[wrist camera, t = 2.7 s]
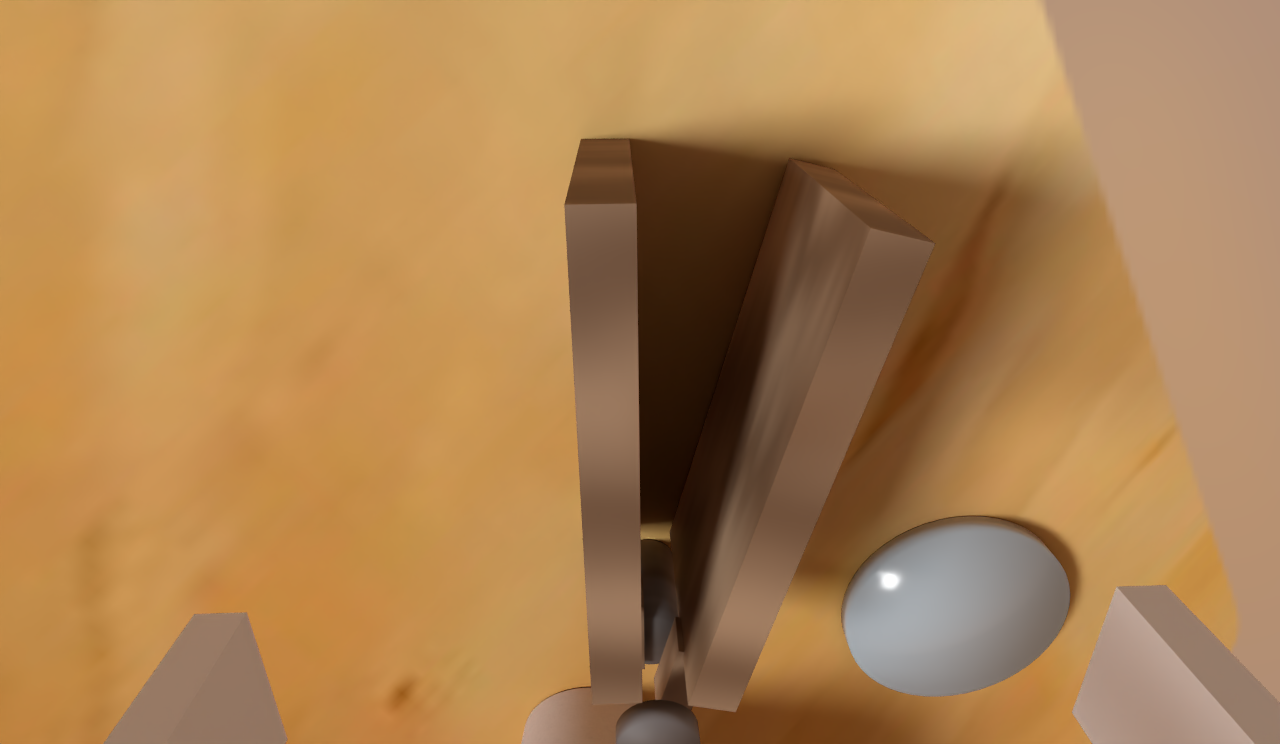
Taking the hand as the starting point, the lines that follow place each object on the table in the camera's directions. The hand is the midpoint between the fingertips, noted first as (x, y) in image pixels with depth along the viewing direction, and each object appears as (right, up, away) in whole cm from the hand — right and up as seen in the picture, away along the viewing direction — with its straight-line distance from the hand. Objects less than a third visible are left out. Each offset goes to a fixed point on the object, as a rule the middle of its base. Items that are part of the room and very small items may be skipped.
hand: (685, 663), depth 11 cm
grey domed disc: (+14, -6, +23) cm, 27 cm away
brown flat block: (-1, +4, +17) cm, 18 cm away
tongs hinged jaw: (+3, +3, +17) cm, 18 cm away
